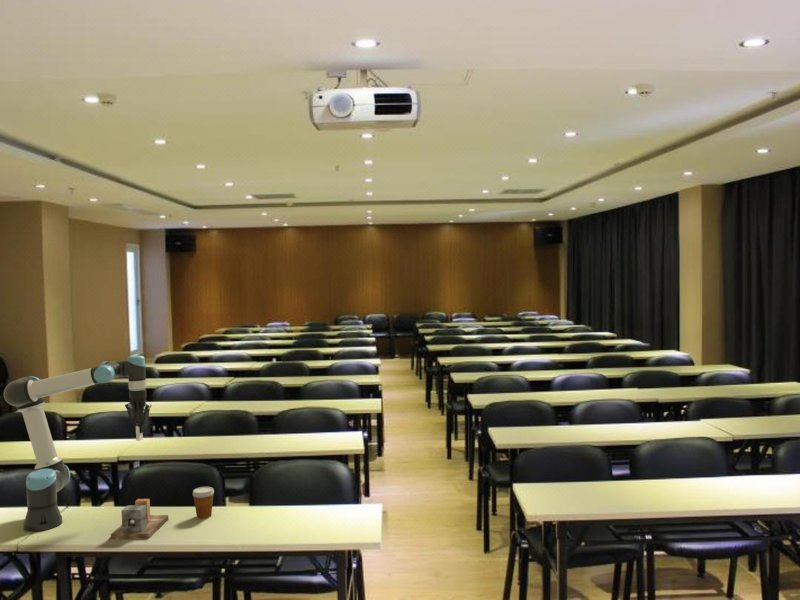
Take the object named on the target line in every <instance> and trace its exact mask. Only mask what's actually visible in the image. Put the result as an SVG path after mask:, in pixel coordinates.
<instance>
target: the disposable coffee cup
mask: <svg viewBox="0 0 800 600" xmlns="http://www.w3.org/2000/svg"><path fill="white" fill-rule="evenodd" d="M214 493H215V490H214V488H213V487H211V486H200V487H197V488H195V489H193V490H192V497H193V501H194V506H195V513H196V518H198V519H200V518H201V519H203V518H204V519H208V518H211V517H212V513H213V512H212V511H213V502H214ZM204 519H203V520H204Z"/></svg>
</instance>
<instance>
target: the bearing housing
mask: <svg viewBox="0 0 800 600" xmlns="http://www.w3.org/2000/svg"><path fill="white" fill-rule="evenodd" d="M169 518H170V517H169V514H160V515H158V514H157V515H156V514H155V515H151V514H150V520H149V521H148V522H147V512H146V505H135V504H133V505H126V506H125V507H124V508H123V509H121V525H120V526H119V527H117V528H116V529H115V530H113V532H111V533H110V539H111V540H117V539H118V540H120V539H121V540H123V539H126V540H127V539H128V540H134V539H135V540H136V539H137V540H141V539H142V540H143V539H150V538H151V537H152V536H153V535H155V533H156V532H157V531H159V529H160V528H162V527H163V525H164V524H165V523H167V522H169ZM131 519H135V524H134V525H130V524H129V521H130V520H131Z"/></svg>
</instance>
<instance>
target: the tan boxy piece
mask: <svg viewBox="0 0 800 600" xmlns="http://www.w3.org/2000/svg"><path fill="white" fill-rule="evenodd" d="M150 501H151V499H150V498H137V499H136V500H135V503H134V505H146V512H147V522H148V521H149V520H150V515H151V502H150ZM129 524H130V525H134V524H135V519H131V520H130V521H129Z"/></svg>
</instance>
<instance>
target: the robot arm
mask: <svg viewBox="0 0 800 600" xmlns="http://www.w3.org/2000/svg"><path fill="white" fill-rule="evenodd" d="M145 359H146V358H145V356H144V355H130V356H128V357H127V360H113V361H112V360H111V361H110V360H108V361H102V362H101V363H100V364H99V365H97V366H95V367H91V368H86V369H82V370H78V371H73V372H68V373H65V374H61V375H56V376H52V377H51V376H50V377H48V378H43V379H41V378H39V377H36V376H33V375H30V376H28V375H27V376H24V377H21V378H18V379H16V380H13V381H11V382H9V383H8V384H7V385H6V387H5V388H4V390H3V398H4V400H5V401H6V403H7V404H9V405H10V406H13V407H16V409H17V412H20V413H21V414H22V417H23V420H24V423H25V427H26V431H27V434H28V438H29V440H30V444H31V447H32V450H33V454H34V456H35V460H36V464H35V466H34V470H33V471H32V472H30V473H28V475H27V476H26V480H25V486H26V505H27V506H26V507H27V511H26V514H25V519H24V521H23V530H25V531H27V532H39V531H46V530H52V529H54V528H56V527H59V526H61V525H62V524H63V516H62V514H61V511H60V509H59V507H58V494H57V493H58V492H60V491H61V490H62V489H64V488H65V487H66V486H67V484H68V483H69V481H70V477H71V472H70V469H69V467H68V466H67V465H66V464H64V461H63V458H61V457H59V456H58V453H57V451H56V447H55V443H54V441H53V437H52V434H51V430H50V427H49V423H48V419H47V416H46V414H45V410H44V405H45V403H46V400H45V397H48V396H53V395H57V394H61V393H65V392H69V391H73V390H77V389H83V388H87V387H90V386H94V385H99V384H100V385H101V384H107V383H110V382H111V381H112V380H114V379H116V378H128V390H129V391H128V396H129V397H128V398H129V402H128V403H126V404H125V405H124V406H125V408H126V411H127V414H128V415H127V416H128V419H129V422H130V425H132V426H134V433H135V435H136V438H135V439H136V440H135V441H137V442H140V441H143V440H144V435H143V434H144V432H145V430H144V429H145V428H144V427H145V426H146V425H148V421H149V417H150V415H149V414H150V412H151V411H150V410H151V408H152V404H151V403H148V400H147V389H146V388H147V380H146V377H147V374H146V372H147V371H146V367H147V366H146V361H145Z"/></svg>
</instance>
